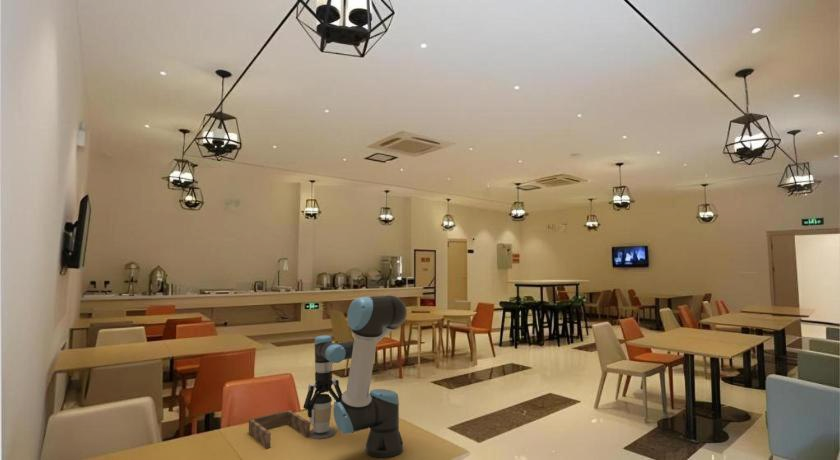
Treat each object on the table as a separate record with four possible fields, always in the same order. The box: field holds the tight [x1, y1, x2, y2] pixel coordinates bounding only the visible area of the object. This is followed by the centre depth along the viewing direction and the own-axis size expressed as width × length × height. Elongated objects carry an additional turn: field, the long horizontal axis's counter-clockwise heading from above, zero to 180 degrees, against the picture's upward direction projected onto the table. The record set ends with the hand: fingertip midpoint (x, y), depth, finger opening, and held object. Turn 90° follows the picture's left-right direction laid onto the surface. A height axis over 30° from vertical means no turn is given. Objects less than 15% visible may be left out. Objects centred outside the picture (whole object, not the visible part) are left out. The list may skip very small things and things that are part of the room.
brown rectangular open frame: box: [248, 409, 311, 450], centre depth 189 cm, size 22×19×6 cm
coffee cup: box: [312, 393, 333, 433], centre depth 190 cm, size 9×9×15 cm
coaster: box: [308, 426, 337, 440], centre depth 190 cm, size 12×12×1 cm
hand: (324, 420), depth 190 cm, fingers open, 11 cm apart
